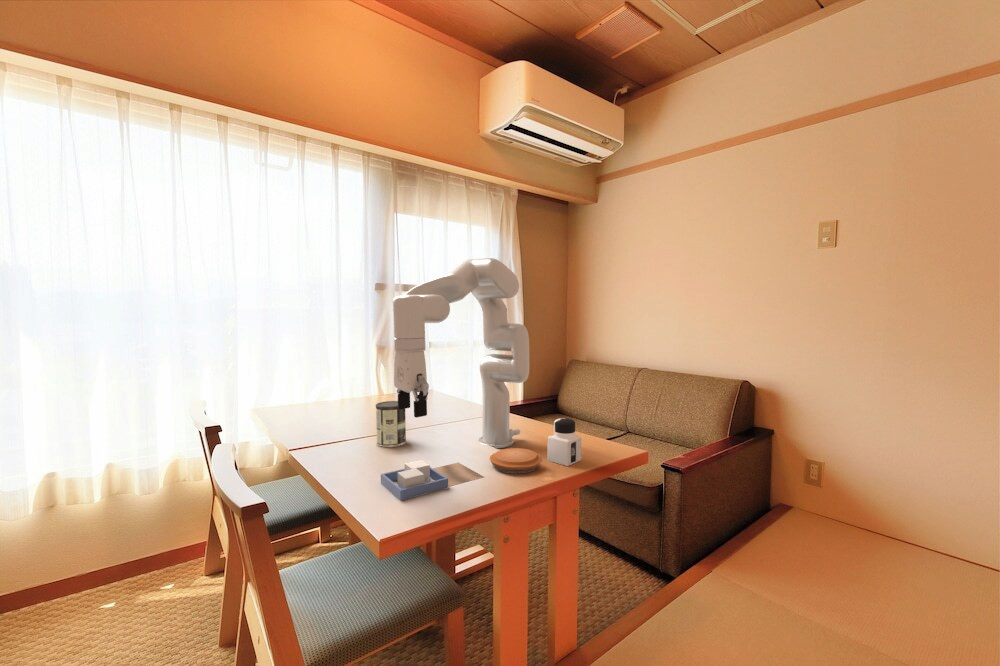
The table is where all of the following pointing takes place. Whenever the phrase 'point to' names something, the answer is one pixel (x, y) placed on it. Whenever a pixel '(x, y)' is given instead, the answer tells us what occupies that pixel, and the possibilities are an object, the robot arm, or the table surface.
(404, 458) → the table surface
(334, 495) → the table surface
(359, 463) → the table surface
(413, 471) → the pale white cube
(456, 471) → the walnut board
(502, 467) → the pie
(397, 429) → the coffee can
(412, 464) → the white block
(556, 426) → the container
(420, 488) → the rectangular frame
